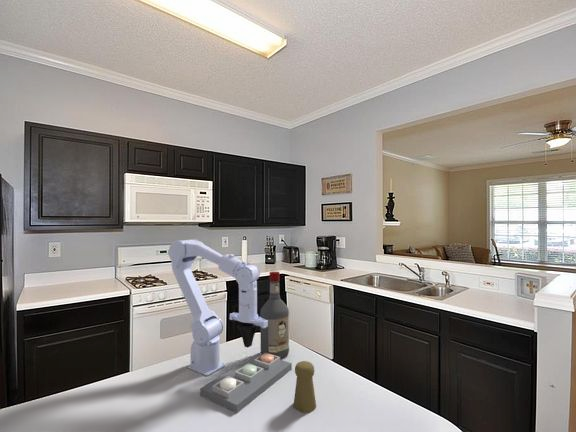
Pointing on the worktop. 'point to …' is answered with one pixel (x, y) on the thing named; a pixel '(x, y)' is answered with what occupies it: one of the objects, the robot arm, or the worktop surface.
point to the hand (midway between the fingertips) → (248, 346)
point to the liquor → (275, 322)
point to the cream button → (228, 384)
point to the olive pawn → (304, 387)
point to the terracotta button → (267, 358)
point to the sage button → (249, 370)
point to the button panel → (246, 383)
